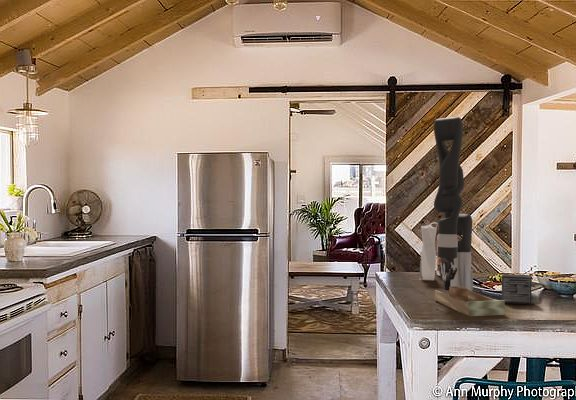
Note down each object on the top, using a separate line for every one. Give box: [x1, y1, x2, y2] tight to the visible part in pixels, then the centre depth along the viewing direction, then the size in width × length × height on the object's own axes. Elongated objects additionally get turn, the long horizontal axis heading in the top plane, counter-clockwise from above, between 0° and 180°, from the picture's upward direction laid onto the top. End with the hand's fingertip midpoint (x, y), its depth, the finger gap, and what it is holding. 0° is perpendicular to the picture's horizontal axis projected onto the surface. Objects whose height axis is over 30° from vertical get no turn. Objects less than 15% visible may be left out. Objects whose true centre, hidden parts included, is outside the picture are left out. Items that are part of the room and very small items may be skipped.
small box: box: [501, 274, 533, 305], centre depth 218 cm, size 11×6×10 cm, turn 71°
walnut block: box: [448, 286, 468, 302], centre depth 211 cm, size 5×5×5 cm
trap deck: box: [434, 289, 506, 317], centre depth 209 cm, size 13×28×5 cm, turn 10°
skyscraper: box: [418, 222, 439, 281], centre depth 272 cm, size 8×8×28 cm
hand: (446, 289), depth 219 cm, fingers closed
